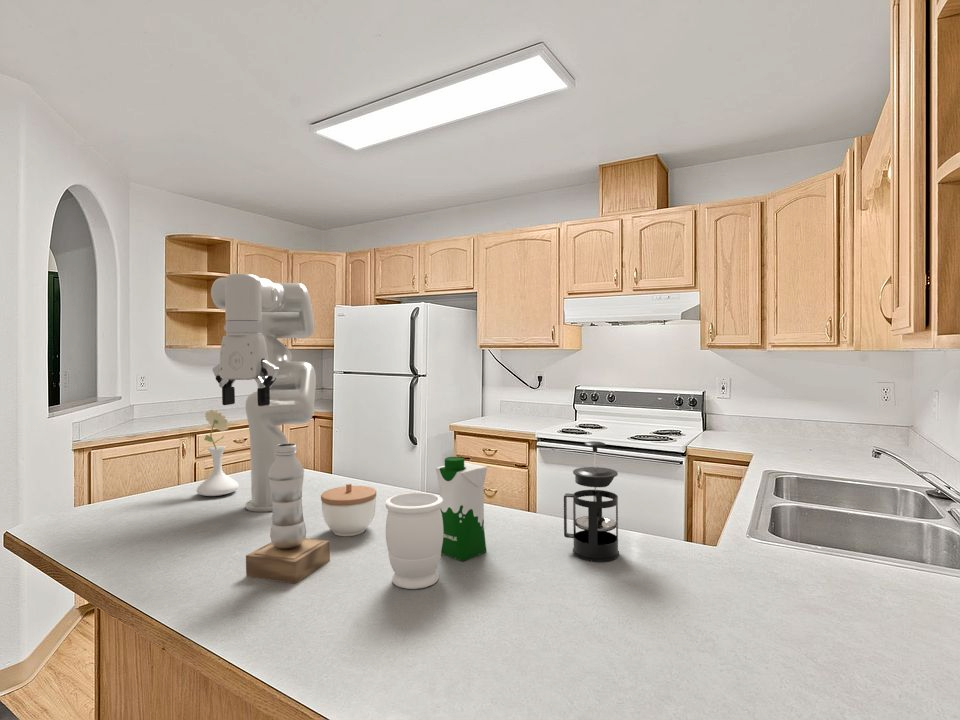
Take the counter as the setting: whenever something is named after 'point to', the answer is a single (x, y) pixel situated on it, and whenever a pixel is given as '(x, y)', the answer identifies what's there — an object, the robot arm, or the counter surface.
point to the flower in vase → (217, 461)
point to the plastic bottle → (287, 498)
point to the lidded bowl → (348, 509)
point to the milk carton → (462, 508)
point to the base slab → (288, 561)
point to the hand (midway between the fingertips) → (246, 405)
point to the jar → (414, 538)
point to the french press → (594, 514)
